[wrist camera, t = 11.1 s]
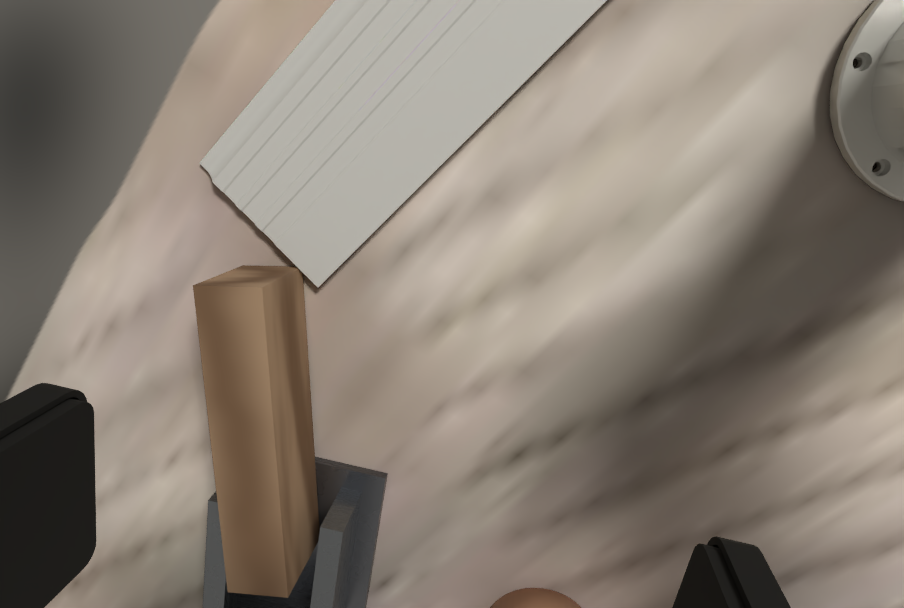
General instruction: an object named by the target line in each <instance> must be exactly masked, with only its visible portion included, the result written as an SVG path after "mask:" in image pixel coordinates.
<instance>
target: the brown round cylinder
mask: <svg viewBox="0 0 904 608" xmlns="http://www.w3.org/2000/svg"><path fill="white" fill-rule="evenodd" d="M491 608H581V607H580V606H579V605H578V604H577V603H576V602H575V601H573V600H572V599H570V598H569V597H567V596H565V595H563V594H561V593H558V592H556V591H552V590H548V589H543V588H525V589H520V590H516V591H513V592H510V593H508V594H506V595H504V596H502V597H501V598H499V599H498V600H497V601H496V602H495V603H494V604H493V605H492V606H491Z"/></svg>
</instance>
